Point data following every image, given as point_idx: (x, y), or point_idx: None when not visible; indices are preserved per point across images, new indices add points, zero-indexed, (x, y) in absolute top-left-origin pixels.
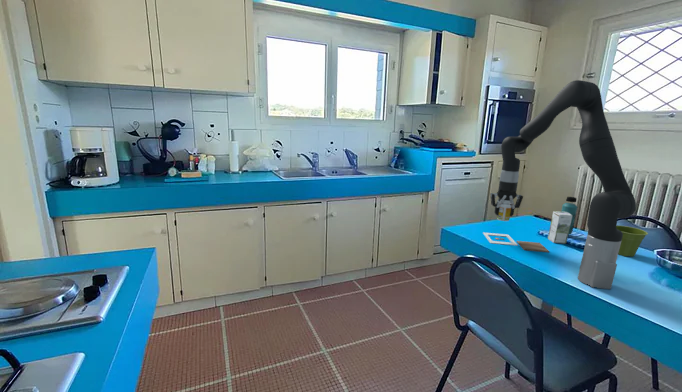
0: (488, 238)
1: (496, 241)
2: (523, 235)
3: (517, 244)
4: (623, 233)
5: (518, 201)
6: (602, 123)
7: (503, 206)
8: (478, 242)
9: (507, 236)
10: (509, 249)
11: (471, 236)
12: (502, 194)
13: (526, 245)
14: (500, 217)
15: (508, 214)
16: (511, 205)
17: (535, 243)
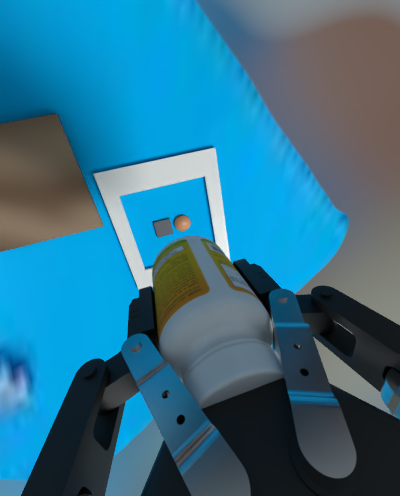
0: (217, 201)
1: (188, 177)
2: (81, 318)
3: (96, 181)
4: None
5: (79, 449)
6: None
7: (242, 300)
8: (262, 132)
9: (141, 267)
10: (131, 90)
11: (276, 200)
12: (377, 476)
13: (52, 178)
14: (215, 246)
15: (169, 270)
16: (162, 358)
17: (14, 232)
